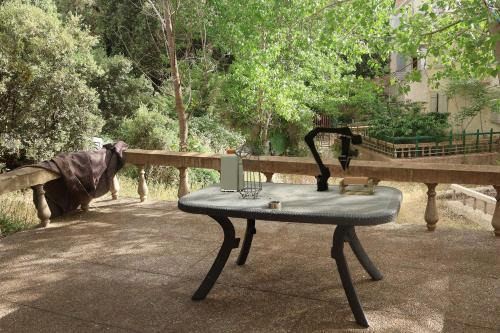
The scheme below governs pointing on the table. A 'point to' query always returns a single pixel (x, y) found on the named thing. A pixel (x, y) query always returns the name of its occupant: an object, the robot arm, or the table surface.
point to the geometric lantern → (250, 168)
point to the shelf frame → (355, 192)
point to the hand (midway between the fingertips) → (346, 169)
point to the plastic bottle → (231, 171)
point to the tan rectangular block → (355, 180)
